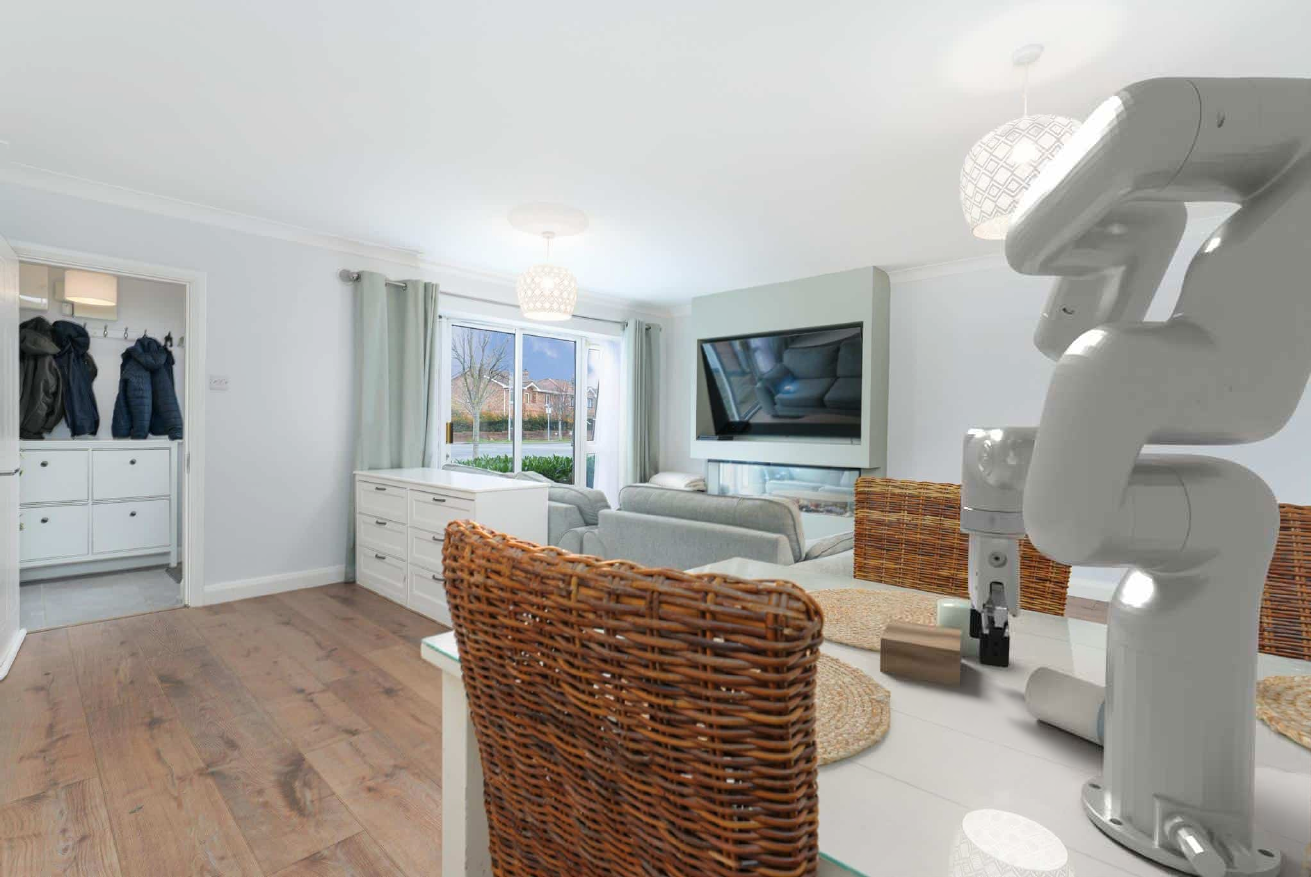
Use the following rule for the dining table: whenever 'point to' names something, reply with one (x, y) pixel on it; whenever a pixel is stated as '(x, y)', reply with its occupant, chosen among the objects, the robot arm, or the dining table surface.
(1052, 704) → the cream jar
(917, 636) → the tan box
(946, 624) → the pale green rounded cylinder
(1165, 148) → the robot arm
